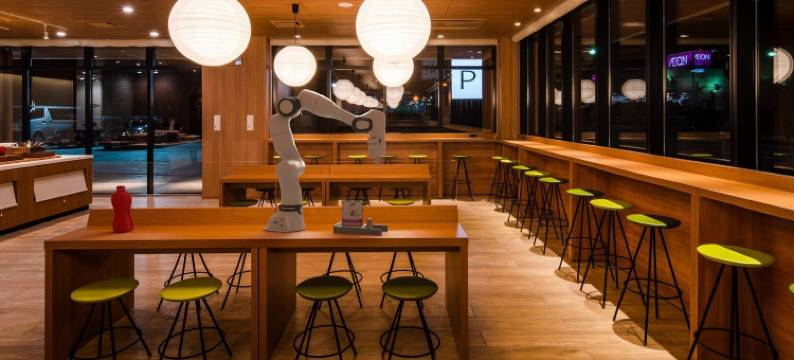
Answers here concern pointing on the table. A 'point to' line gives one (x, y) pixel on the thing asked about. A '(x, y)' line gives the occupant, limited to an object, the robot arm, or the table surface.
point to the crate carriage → (368, 226)
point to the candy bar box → (352, 213)
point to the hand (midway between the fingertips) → (377, 165)
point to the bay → (361, 229)
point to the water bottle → (122, 210)
